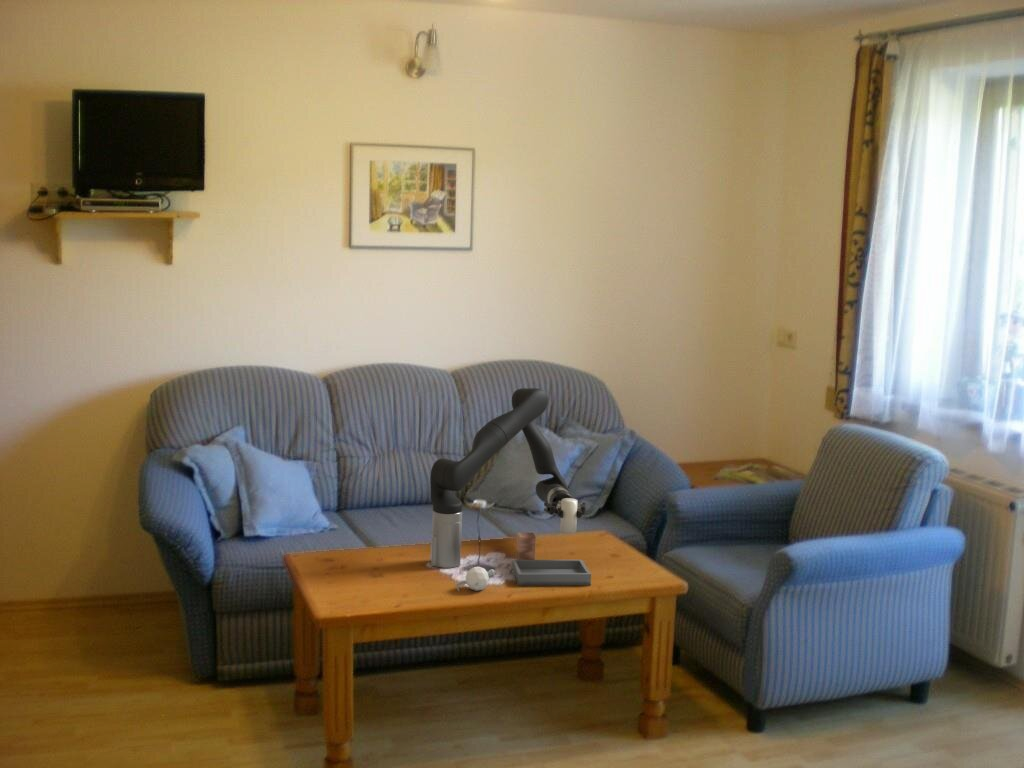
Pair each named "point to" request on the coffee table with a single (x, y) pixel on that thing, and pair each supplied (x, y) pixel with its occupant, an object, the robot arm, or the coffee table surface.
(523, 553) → the coral block
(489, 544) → the coffee table surface
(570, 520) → the cream cylinder
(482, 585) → the alien figurine
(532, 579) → the tray
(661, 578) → the coffee table surface
